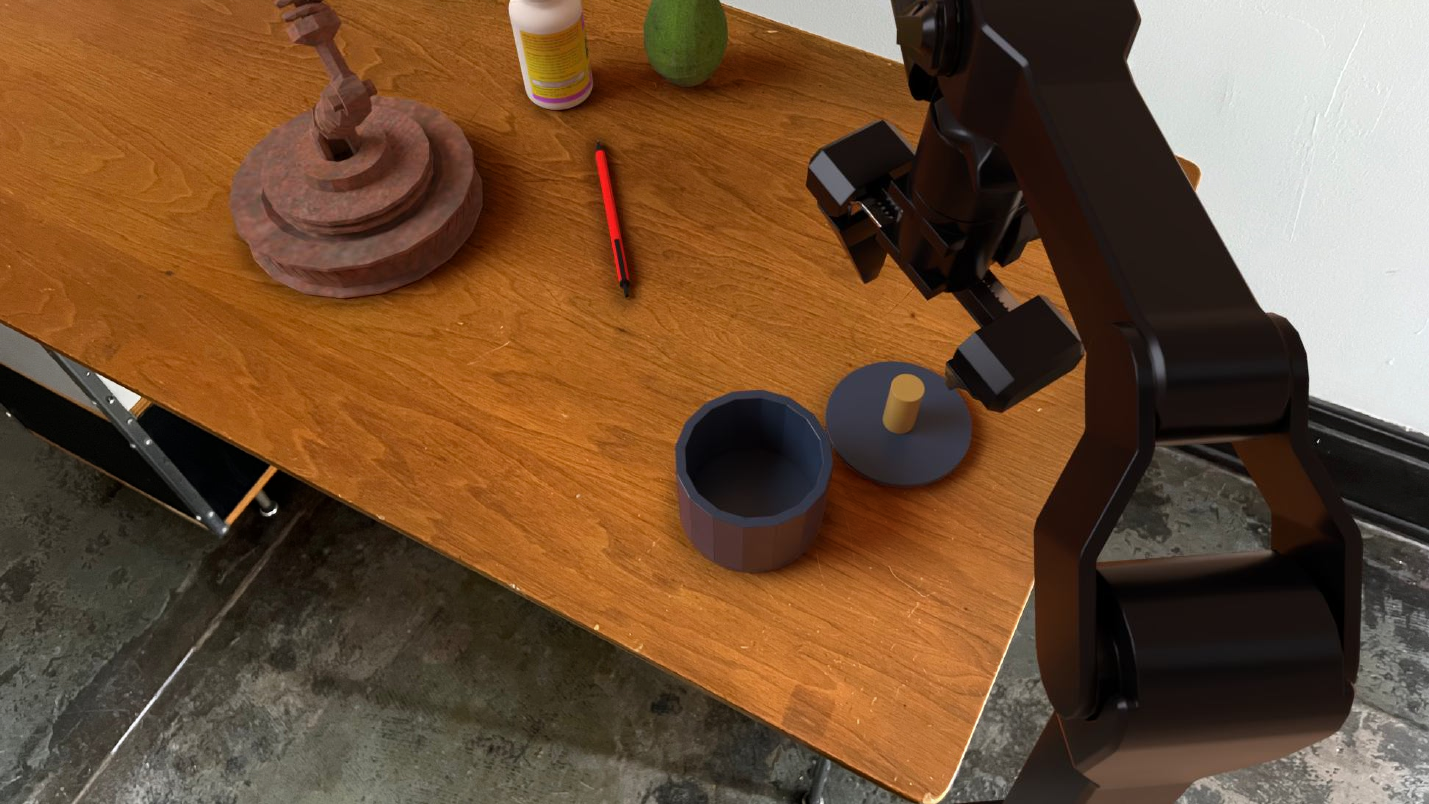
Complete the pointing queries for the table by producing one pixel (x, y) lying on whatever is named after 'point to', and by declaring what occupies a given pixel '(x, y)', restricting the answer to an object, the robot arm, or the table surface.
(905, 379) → the canister lid
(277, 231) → the desk lamp
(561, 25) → the supplement bottle
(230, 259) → the table surface
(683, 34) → the fruit
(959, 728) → the table surface
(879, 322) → the table surface
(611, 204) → the pen
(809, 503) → the canister
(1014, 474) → the table surface
